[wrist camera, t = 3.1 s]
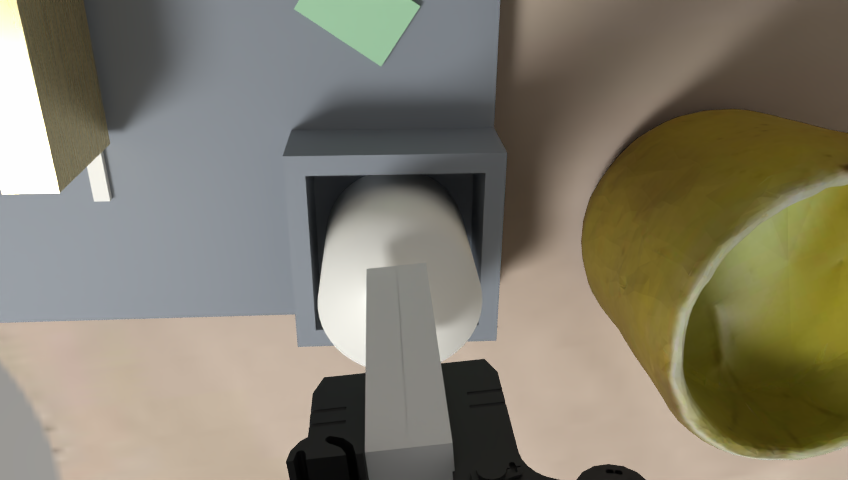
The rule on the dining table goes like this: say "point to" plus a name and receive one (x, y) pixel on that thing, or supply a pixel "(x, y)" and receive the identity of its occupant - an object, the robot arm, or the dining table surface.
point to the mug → (732, 276)
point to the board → (256, 155)
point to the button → (397, 258)
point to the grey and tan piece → (47, 96)
